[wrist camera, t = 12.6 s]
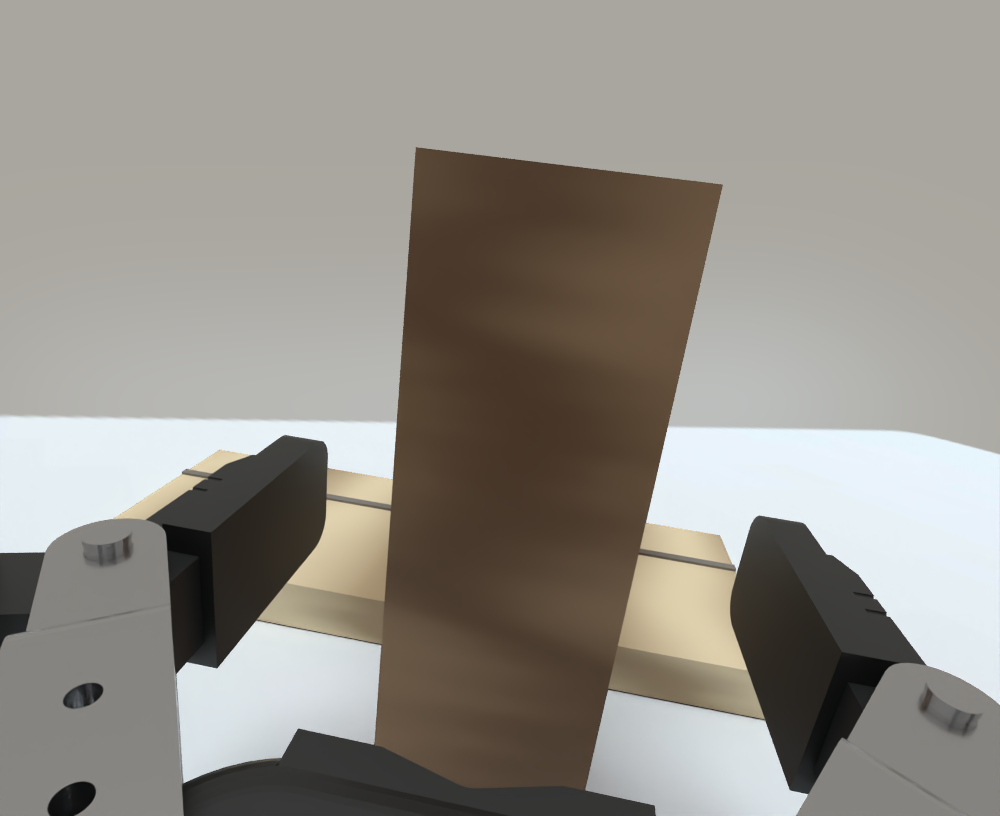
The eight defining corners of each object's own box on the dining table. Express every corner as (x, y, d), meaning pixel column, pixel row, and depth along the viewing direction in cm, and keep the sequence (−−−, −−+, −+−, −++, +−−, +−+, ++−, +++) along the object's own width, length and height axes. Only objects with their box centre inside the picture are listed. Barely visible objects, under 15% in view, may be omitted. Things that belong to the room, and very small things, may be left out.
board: (710, 568, 25) (720, 533, 25) (765, 719, 18) (781, 674, 17) (220, 481, 27) (219, 447, 27) (81, 585, 20) (75, 540, 19)
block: (569, 562, 24) (636, 203, 20) (556, 916, 12) (723, 184, 8) (473, 545, 25) (517, 188, 20) (365, 872, 12) (416, 147, 8)
